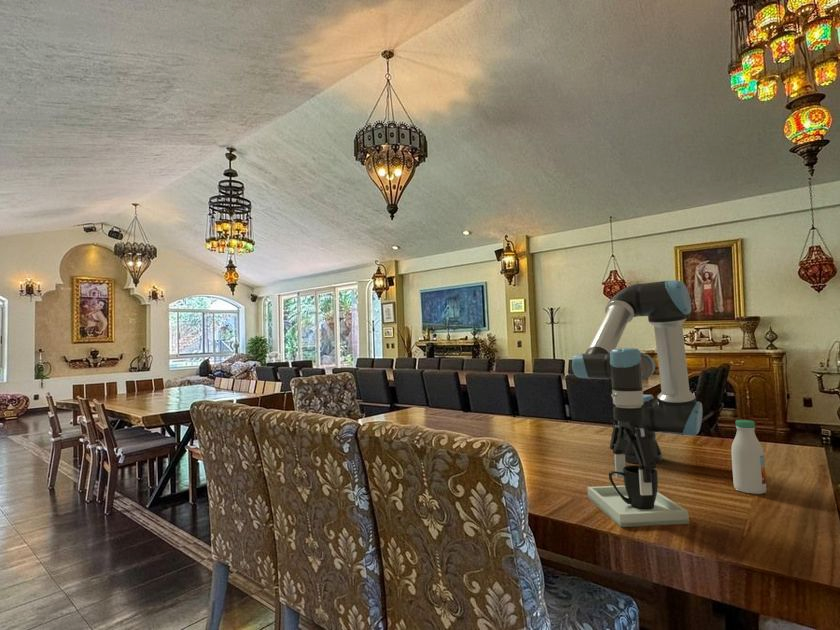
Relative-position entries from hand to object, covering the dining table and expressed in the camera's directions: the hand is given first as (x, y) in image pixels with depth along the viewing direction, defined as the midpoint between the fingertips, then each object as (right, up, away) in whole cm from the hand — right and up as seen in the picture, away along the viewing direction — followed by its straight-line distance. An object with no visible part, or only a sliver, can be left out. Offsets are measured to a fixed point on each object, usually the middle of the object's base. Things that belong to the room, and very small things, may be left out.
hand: (632, 485), depth 119 cm
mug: (0, -5, 0) cm, 5 cm away
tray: (0, -6, 0) cm, 6 cm away
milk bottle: (+39, -6, +10) cm, 41 cm away
